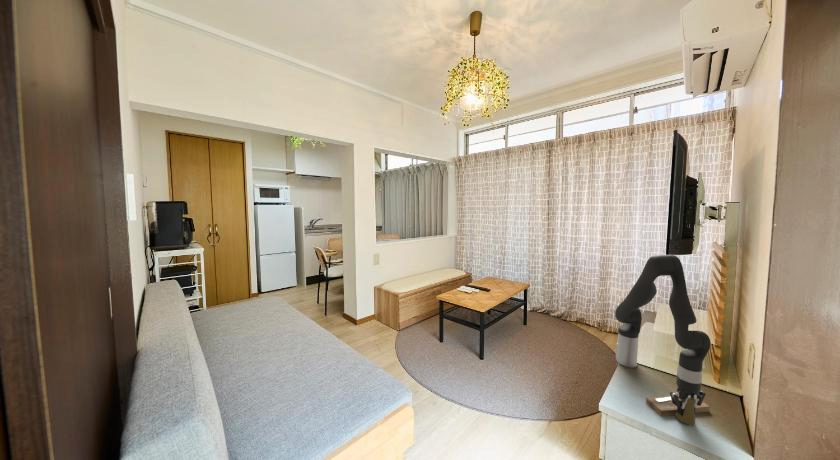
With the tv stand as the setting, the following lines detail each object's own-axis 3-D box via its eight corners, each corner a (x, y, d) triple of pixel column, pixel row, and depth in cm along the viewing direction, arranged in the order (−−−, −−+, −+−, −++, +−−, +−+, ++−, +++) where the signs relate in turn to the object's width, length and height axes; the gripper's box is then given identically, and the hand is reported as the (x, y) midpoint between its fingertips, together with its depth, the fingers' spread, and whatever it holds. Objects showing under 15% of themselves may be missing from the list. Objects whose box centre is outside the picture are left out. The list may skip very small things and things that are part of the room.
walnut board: (645, 402, 133) (646, 397, 132) (691, 398, 134) (691, 393, 133) (661, 415, 125) (661, 410, 124) (709, 411, 126) (709, 406, 125)
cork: (675, 419, 122) (677, 395, 120) (676, 411, 126) (678, 388, 124) (694, 427, 117) (697, 402, 116) (695, 418, 121) (697, 394, 120)
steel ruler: (655, 399, 131) (655, 398, 131) (682, 395, 132) (682, 394, 132) (658, 402, 129) (659, 401, 129) (686, 398, 131) (686, 397, 131)
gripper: (696, 369, 123) (692, 406, 125) (664, 372, 122) (661, 409, 124) (715, 381, 115) (711, 419, 118) (681, 384, 115) (678, 422, 117)
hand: (685, 414), depth 121 cm, fingers closed on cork, 4 cm apart
